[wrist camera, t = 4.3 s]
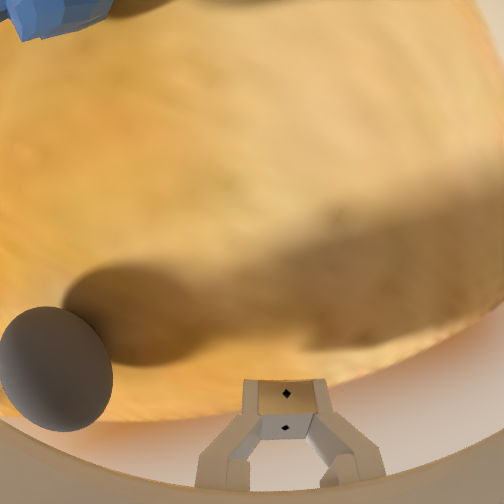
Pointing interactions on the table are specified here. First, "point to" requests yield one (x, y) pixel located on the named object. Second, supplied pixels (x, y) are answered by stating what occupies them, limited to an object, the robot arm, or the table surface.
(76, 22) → the grapes
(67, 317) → the ball
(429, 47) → the table surface
